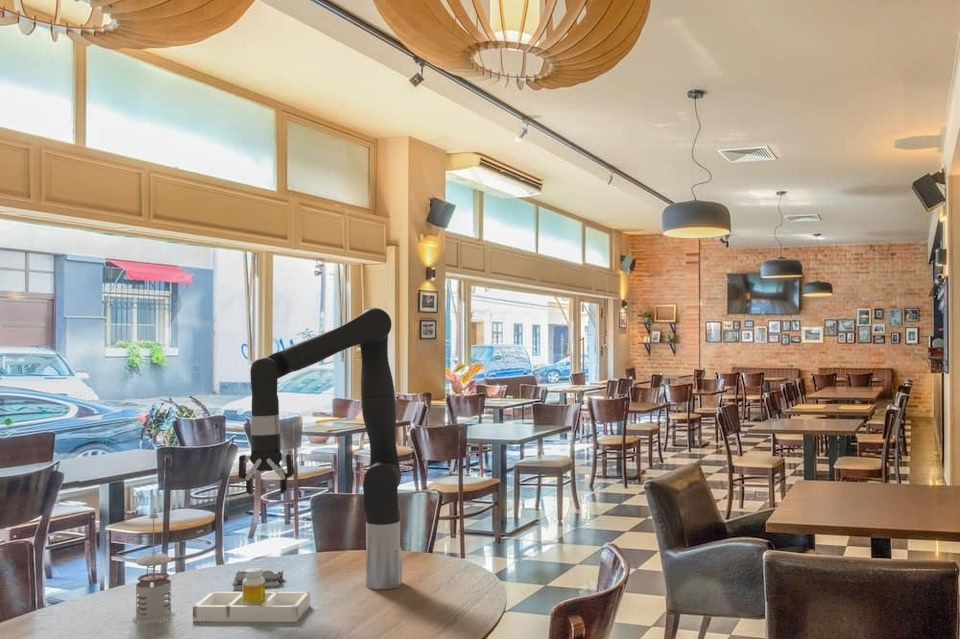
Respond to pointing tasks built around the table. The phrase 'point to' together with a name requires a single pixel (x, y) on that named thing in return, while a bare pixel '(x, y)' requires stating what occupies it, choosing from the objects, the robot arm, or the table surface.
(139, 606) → the french press
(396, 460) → the robot arm
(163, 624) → the table surface
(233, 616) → the rack
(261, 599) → the supplement bottle
